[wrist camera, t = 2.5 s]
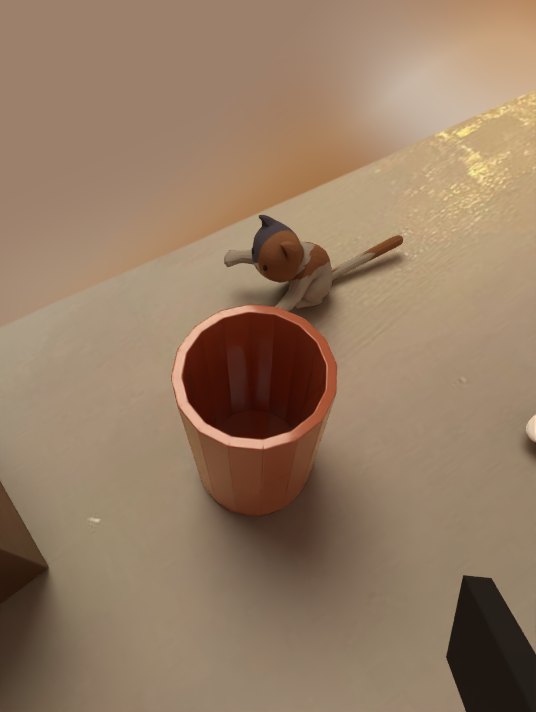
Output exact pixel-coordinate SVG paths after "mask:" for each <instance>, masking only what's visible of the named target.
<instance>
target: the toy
mask: <svg viewBox="0 0 536 712" xmlns="http://www.w3.org/2000/svg"><path fill="white" fill-rule="evenodd" d="M259 218H260V219H261V221H262V227H261V228H260V229H259V231H258V232H257V234H256V235H255V238H254V243H253V248H252V250H247V251H236V250H230V251H229V252H228V253H227V254H226V255H225V258H224V263H225V264H226V266H227V267H230V266H233V265H236V264H239V263H248V264H254V266H255V267H256V269H257V270H258V271H259V272H260V273H261V274H262V275H263V276H264V277H266V278H267V279H269V280H272V281H276V282H279V283H281V282H286V281H290V286H289V289H288V292H287V293H286V294H285V295H284V297H283V298H282V299H281V300H280V301H279V303H278V304H277V305H276V306H275V307H277V308H278V307H279V308H281V309H283V310H286V311H288V312H289V311H290V310H291V309H292V308H294V307H296V308H302V307H307V306H315V305H319V304H321V303H322V298H323V297H325V296H326V295H327V294H328V293H329V291H330V290H331V286H332V280H333V279H335V278H337V277H339V276H341V275H343V274H345V273H347V272H349V271H351V270H353V269H355V268H356V267H358V266H360V265H362V264H364V263H366V262H368V261H370V260H372V259H374V258H376V257H378V256H380V255H382V254H384V253H386V252H388V251H390V250H392V249H394V248H396V247H398V246H399V245H401V244H402V243H403V238H402V236H400V235H398V236H394V237H392V238H390V239H388V240H386V241H384V242H382V243H380V244H378V245H376V246H375V247H373V248H371V249H369V250H367V251H365V252H364V253H362V254H360V255H358V256H356V257H354V258H352V259H351V260H349V261H347V262H345V263H343V264H341V265H339V266H337V267H335V268H333V269H332V268H331V264H330V259H329V257H328V254H327V252H326V251H325V250H324V249H323V248H321V247H320V246H319V245H316V244H313V243H310V242H301V241H299V239H298V237H297V235H296V234H295V233H294V232H293V231H292V230H291V229H290V228H289V227H287V226H286V225H284V224H282V223H280V222H278V221H276V220H274V219H273V218H271V217H268V216H266V215H259Z"/></svg>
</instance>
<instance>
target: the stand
mask: <svg viewBox="0 0 536 712" xmlns="http://www.w3.org/2000/svg"><path fill="white" fill-rule="evenodd" d="M47 568H48V565H47V564H46V562H45V560H44V558H43V556H42V555H41V553H40V551H39V549H38V548H37V546H36V544H35V542H34V540H33V539H32V537H31V535H30V533H29V532H28V530H27V528H26V526H25V524H24V523H23V521H22V519H21V517H20V516H19V514H18V512H17V510H16V508H15V507H14V505H13V503H12V501H11V500H10V498H9V496H8V494H7V492H6V491H5V489H4V487H3V485H2V484H1V482H0V604H1V603H2V602H3V601H5V600H6V599H7V598H9V597H10V596H11V595H13V594H14V593H15V592H17V591H18V590H19V589H21V588H22V587H23V586H25V585H26V584H27V583H29V582H30V581H31V580H33V579H34V578H35V577H37V576H38V575H39V574H41V573H42V572H43V571H45V570H46V569H47Z"/></svg>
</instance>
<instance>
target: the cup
mask: <svg viewBox="0 0 536 712" xmlns="http://www.w3.org/2000/svg"><path fill="white" fill-rule="evenodd" d="M171 381H172V385H173V389H174V393H175V397H176V402H177V406H178V409H179V412H180V415H181V418H182V421H183V425H184V428H185V431H186V434H187V437H188V440H189V443H190V447H191V450H192V453H193V456H194V459H195V462H196V465H197V469H198V472H199V475H200V478H201V481H202V483H203V485H204V486H205V488H206V489H207V491H208V492H209V494H210V495H211V496H212V497H213V498H214V500H216V501H217V502H218V503H219V504H220V505H222V506H223V507H225V508H226V509H229V510H231V511H233V512H236V513H239V514H243V515H253V516H257V515H265V514H269V513H273V512H275V511H278V510H280V509H282V508H284V507H285V506H287V505H288V504H289V503H291V502H292V501H293V500H294V499H295V498H296V497H297V496H298V494H299V493H300V492H301V491H302V489H303V487H304V485H305V483H306V481H307V478H308V476H309V474H310V472H311V469H312V466H313V463H314V460H315V457H316V454H317V451H318V448H319V445H320V442H321V438H322V435H323V432H324V429H325V426H326V423H327V420H328V417H329V414H330V411H331V408H332V405H333V402H334V399H335V396H336V390H337V365H336V361H335V359H334V357H333V355H332V352H331V350H330V348H329V346H328V343H327V341H326V339H325V338H324V337H323V336H322V335H321V334H320V333H319V332H318V331H317V330H316V329H315V328H314V327H313V326H312V325H311V324H310V323H309V322H308V321H306V320H305V319H304V318H302V317H299V316H297V315H295V314H292V313H290V312H288V311H286V310H283V309H281V308H279V307H278V308H277V307H272V306H260V305H243V306H239V307H235V308H231V309H226V310H222V311H219V312H217V313H215V314H214V315H212V316H211V317H209V318H208V319H206V320H204V321H203V322H201V323H200V324H198V325H196V326H195V327H194V328H193V329H192V331H191V332H190V333H189V335H188V336H187V337H186V339H185V340H184V341H183V343H182V344H181V345H180V347H179V348H178V350H177V353H176V357H175V362H174V367H173V371H172V376H171Z"/></svg>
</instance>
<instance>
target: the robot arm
mask: <svg viewBox="0 0 536 712" xmlns="http://www.w3.org/2000/svg"><path fill="white" fill-rule="evenodd" d="M446 658H447V661H448V664H449V666H450V669H451V672H452V674H453V677H454V680H455V683H456V685H457V688H458V691H459V694H460V696H461V699H462V702H463V705H464V707H465V710H466V712H536V654H535V652H534V650H533V649H532V647H531V645H530V644H529V642H528V640H527V638H526V637H525V635H524V633H523V632H522V630H521V628H520V626H519V625H518V623H517V621H516V620H515V618H514V616H513V614H512V613H511V611H510V609H509V608H508V606H507V604H506V602H505V601H504V599H503V597H502V596H501V594H500V592H499V590H498V589H497V587H496V585H495V584H494V582H493V580H492V578H484V577H474V576H465V575H463V579H462V584H461V589H460V593H459V598H458V603H457V608H456V613H455V617H454V622H453V627H452V632H451V637H450V641H449V646H448V651H447V656H446Z"/></svg>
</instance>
